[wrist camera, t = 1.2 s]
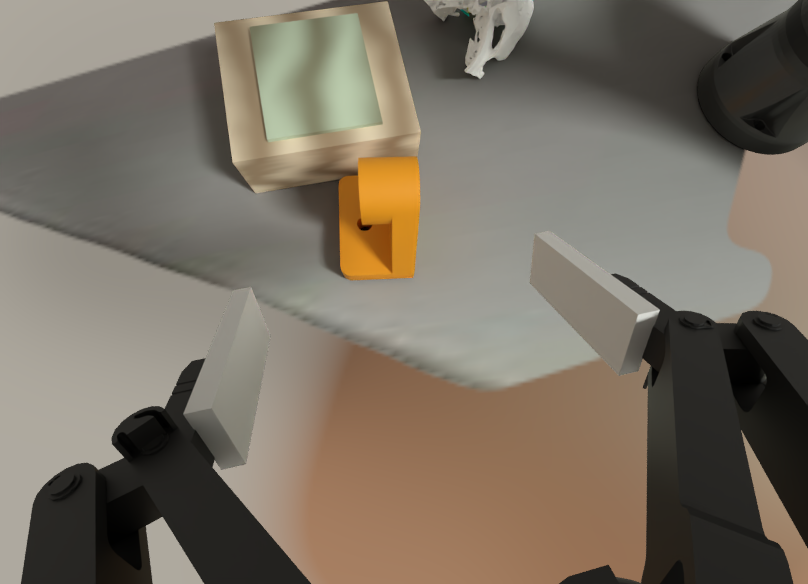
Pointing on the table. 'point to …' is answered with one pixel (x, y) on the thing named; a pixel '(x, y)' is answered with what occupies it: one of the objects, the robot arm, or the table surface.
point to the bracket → (380, 218)
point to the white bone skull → (488, 26)
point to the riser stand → (314, 94)
